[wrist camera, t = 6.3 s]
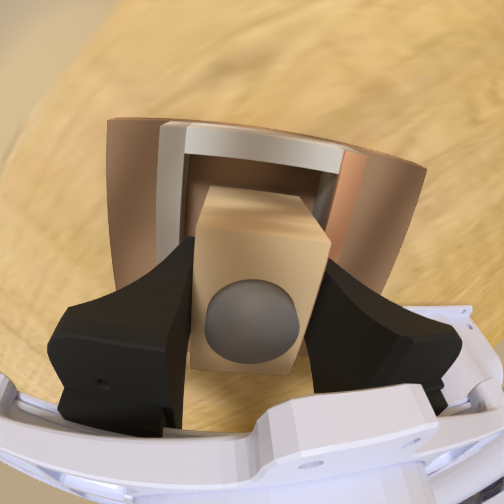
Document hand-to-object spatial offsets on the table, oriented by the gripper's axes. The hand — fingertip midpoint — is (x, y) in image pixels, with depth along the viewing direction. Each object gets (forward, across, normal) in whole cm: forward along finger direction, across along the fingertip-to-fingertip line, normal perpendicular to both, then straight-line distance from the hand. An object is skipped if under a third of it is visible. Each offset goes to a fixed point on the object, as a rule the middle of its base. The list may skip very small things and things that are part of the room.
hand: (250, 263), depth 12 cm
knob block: (+2, 0, +1) cm, 2 cm away
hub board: (+4, -1, +2) cm, 5 cm away
